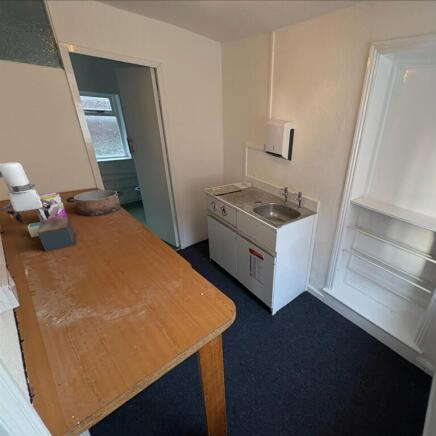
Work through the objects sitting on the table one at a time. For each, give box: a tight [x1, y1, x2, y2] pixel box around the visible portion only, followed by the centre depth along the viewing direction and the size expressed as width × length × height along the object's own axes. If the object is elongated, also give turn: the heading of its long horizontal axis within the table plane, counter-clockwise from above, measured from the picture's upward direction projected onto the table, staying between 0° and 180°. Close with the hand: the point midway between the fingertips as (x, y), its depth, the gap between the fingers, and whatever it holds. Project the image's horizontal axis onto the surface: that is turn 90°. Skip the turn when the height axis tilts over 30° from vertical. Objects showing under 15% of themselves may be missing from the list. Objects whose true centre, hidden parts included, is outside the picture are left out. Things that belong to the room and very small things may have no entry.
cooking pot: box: [66, 189, 125, 217], centre depth 155 cm, size 30×22×11 cm
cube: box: [27, 221, 41, 238], centre depth 123 cm, size 6×6×6 cm
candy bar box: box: [35, 192, 68, 222], centre depth 136 cm, size 11×5×16 cm, turn 154°
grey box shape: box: [37, 215, 75, 252], centre depth 116 cm, size 10×16×10 cm, turn 39°
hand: (35, 219), depth 121 cm, fingers open, 9 cm apart
